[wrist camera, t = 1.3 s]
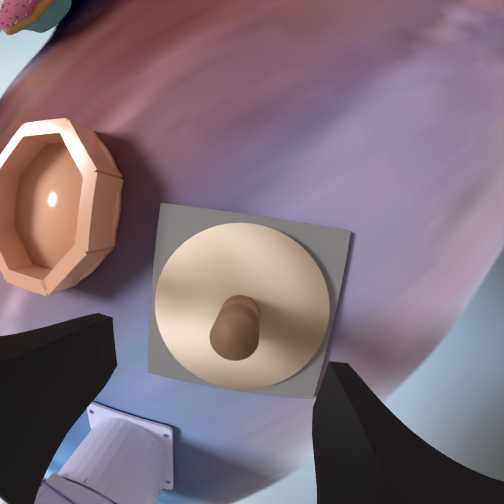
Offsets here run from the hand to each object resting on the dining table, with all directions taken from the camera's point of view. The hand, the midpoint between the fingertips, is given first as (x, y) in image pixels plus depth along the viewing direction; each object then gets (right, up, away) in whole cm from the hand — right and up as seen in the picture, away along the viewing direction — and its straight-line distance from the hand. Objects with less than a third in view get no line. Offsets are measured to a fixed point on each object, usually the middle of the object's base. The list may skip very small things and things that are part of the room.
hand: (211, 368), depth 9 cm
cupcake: (-19, +28, +8) cm, 35 cm away
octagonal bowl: (-13, +7, +10) cm, 18 cm away
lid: (+1, 0, +10) cm, 10 cm away
